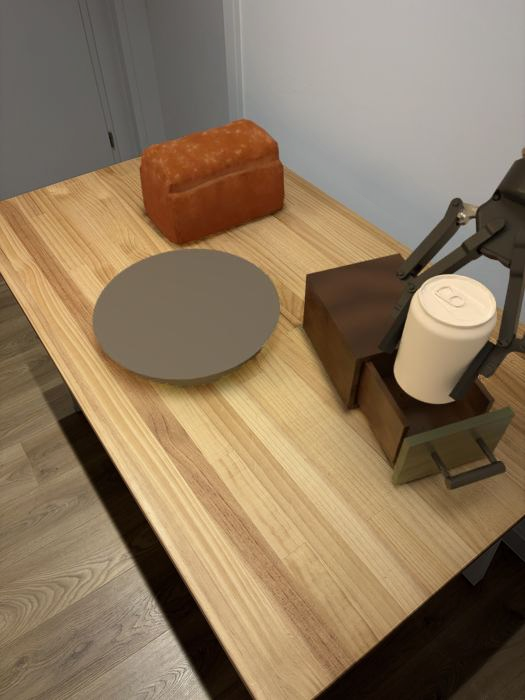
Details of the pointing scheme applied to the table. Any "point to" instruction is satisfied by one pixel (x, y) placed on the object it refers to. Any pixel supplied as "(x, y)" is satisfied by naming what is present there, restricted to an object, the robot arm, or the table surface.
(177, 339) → the flat disc
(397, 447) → the drawer
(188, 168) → the bread
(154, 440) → the table surface
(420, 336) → the beverage can
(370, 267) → the cabinet
